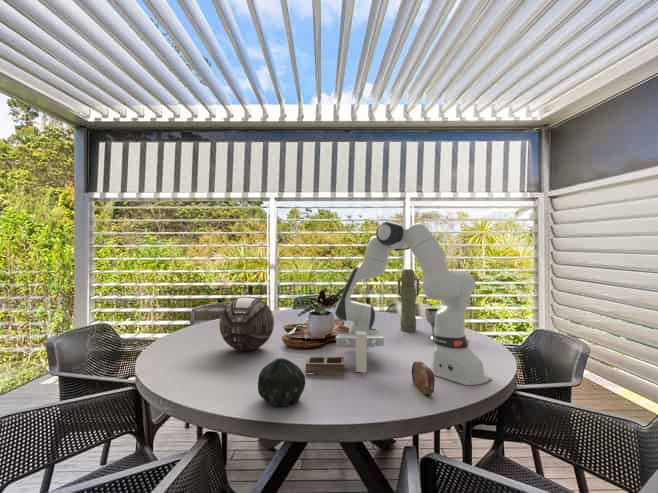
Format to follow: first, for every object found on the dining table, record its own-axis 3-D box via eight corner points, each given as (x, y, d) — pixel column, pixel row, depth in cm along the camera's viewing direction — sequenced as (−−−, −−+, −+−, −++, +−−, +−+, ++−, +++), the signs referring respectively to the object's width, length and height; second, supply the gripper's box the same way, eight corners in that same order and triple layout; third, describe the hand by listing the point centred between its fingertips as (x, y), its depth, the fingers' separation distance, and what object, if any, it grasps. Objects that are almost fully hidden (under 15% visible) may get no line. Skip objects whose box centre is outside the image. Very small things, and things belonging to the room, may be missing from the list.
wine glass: (442, 339, 187) (442, 311, 187) (427, 339, 187) (427, 311, 187) (438, 336, 195) (438, 308, 195) (423, 335, 195) (423, 308, 195)
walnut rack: (307, 366, 147) (307, 356, 147) (344, 366, 146) (344, 356, 146) (305, 374, 138) (305, 363, 138) (344, 374, 137) (344, 364, 137)
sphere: (279, 343, 181) (279, 293, 181) (265, 359, 156) (265, 301, 156) (231, 341, 183) (231, 292, 183) (210, 357, 158) (210, 300, 158)
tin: (410, 381, 131) (410, 358, 131) (419, 381, 131) (419, 357, 131) (427, 399, 116) (427, 373, 116) (436, 398, 116) (436, 372, 116)
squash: (287, 370, 127) (266, 344, 119) (320, 382, 117) (299, 355, 109) (263, 407, 119) (239, 382, 111) (296, 423, 109) (272, 397, 101)
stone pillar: (396, 328, 212) (396, 269, 212) (415, 327, 214) (415, 269, 213) (400, 332, 204) (400, 270, 203) (420, 331, 205) (420, 270, 205)
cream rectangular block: (355, 368, 144) (355, 331, 144) (365, 368, 144) (365, 331, 144) (356, 373, 139) (356, 334, 139) (366, 373, 139) (366, 334, 139)
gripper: (335, 329, 160) (335, 337, 146) (381, 329, 159) (385, 337, 145) (335, 343, 160) (335, 352, 146) (381, 343, 159) (385, 352, 145)
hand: (360, 344), depth 146 cm, fingers open, 8 cm apart
